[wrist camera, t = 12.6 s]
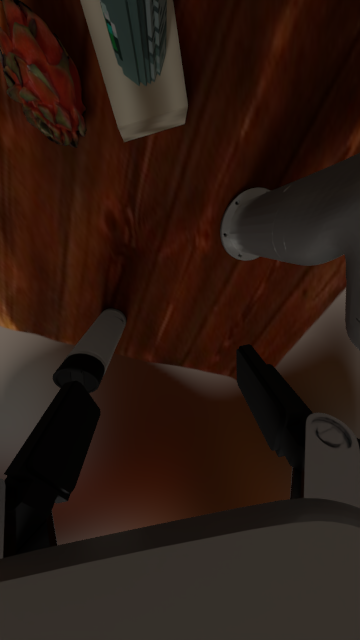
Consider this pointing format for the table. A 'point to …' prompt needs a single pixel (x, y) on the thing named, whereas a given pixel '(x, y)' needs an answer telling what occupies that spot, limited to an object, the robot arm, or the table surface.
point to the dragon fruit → (41, 75)
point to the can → (137, 36)
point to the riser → (140, 101)
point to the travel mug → (92, 352)
